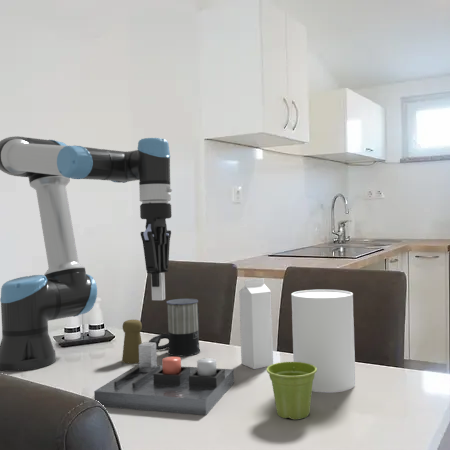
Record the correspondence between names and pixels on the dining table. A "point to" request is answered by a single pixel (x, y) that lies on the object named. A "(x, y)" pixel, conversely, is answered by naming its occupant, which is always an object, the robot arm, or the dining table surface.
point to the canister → (325, 337)
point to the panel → (166, 390)
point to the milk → (256, 324)
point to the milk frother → (181, 328)
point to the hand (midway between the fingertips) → (158, 299)
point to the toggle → (147, 356)
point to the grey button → (207, 367)
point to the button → (171, 365)
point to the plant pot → (292, 388)
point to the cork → (131, 341)
